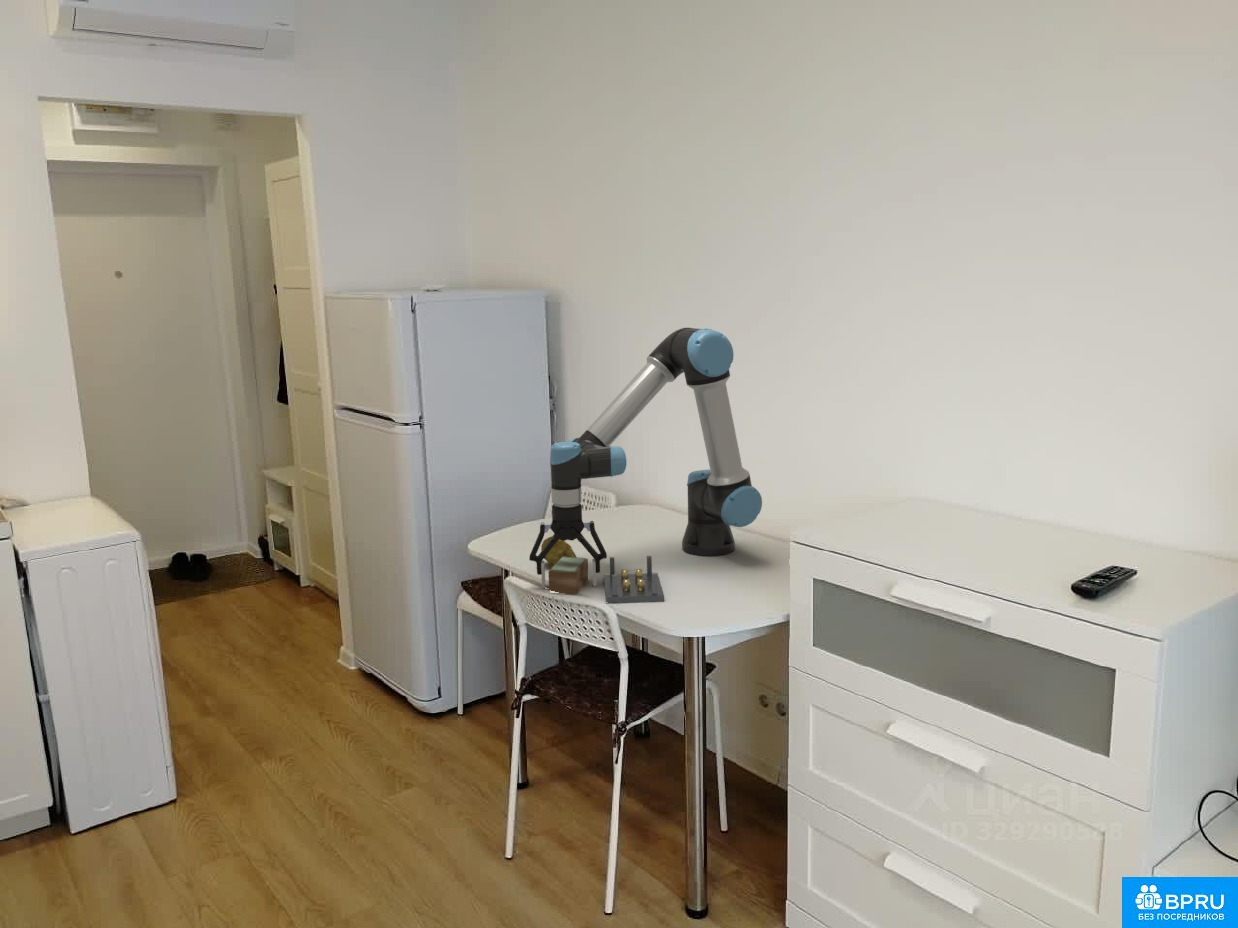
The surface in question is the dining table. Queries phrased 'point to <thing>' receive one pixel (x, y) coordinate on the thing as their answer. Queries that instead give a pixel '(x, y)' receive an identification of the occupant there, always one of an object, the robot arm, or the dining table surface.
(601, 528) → the dining table surface
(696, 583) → the dining table surface
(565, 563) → the block
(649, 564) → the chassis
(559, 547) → the potato
